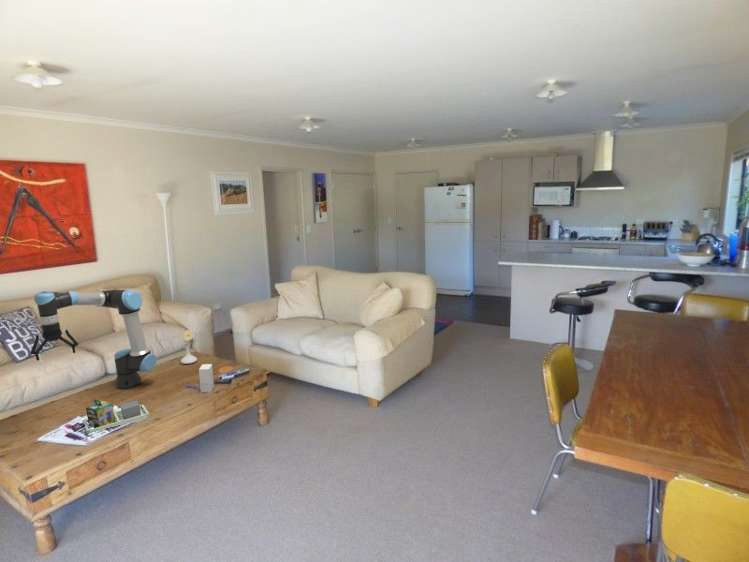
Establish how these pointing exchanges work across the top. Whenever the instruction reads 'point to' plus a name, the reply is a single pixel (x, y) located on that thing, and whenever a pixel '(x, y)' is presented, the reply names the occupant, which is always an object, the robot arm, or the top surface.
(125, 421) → the caddy
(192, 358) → the flower in vase
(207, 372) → the skincare box
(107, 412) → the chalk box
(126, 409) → the grey block
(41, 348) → the robot arm
